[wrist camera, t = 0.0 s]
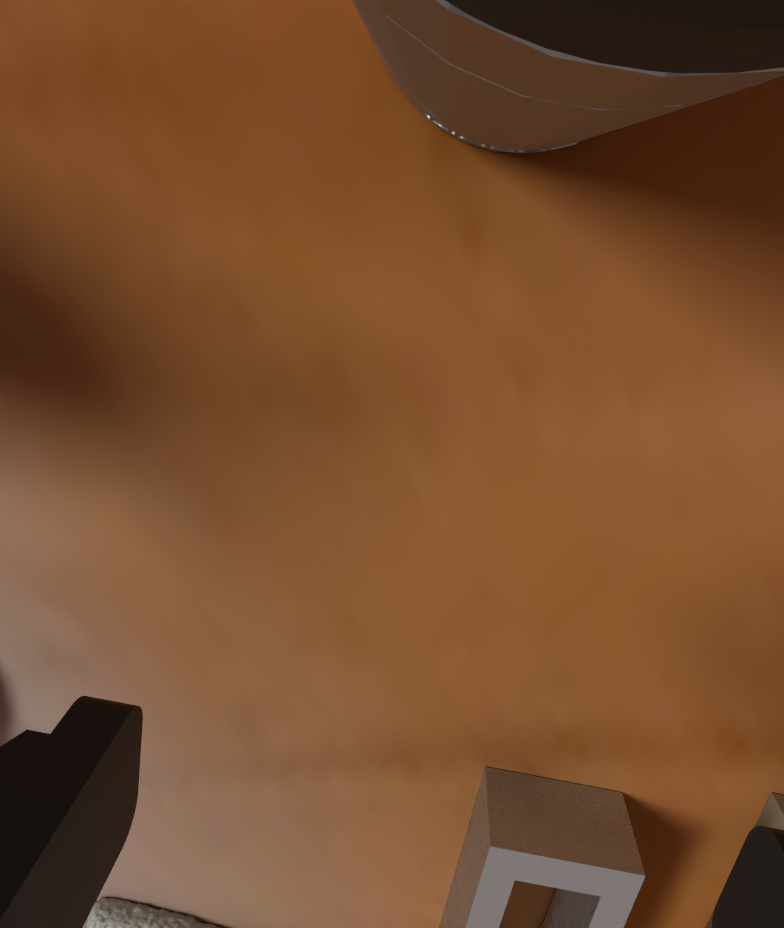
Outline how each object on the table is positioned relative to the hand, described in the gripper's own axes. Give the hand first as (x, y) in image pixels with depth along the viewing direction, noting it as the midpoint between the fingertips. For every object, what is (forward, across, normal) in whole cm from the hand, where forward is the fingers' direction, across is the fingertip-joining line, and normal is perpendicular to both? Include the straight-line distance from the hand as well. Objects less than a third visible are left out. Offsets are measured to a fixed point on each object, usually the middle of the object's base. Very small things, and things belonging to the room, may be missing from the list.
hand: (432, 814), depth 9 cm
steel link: (+18, -8, +21) cm, 29 cm away
